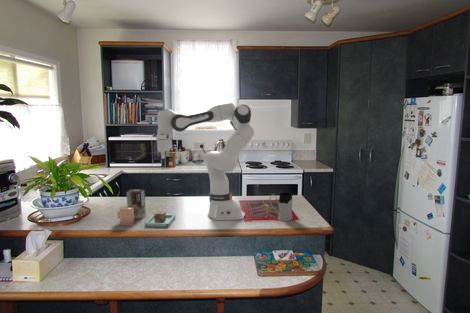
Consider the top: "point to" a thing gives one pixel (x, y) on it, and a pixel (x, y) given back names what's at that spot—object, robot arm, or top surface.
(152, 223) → the tray
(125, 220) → the tan ball with tab
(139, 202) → the coffee box
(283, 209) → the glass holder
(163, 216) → the walnut block
